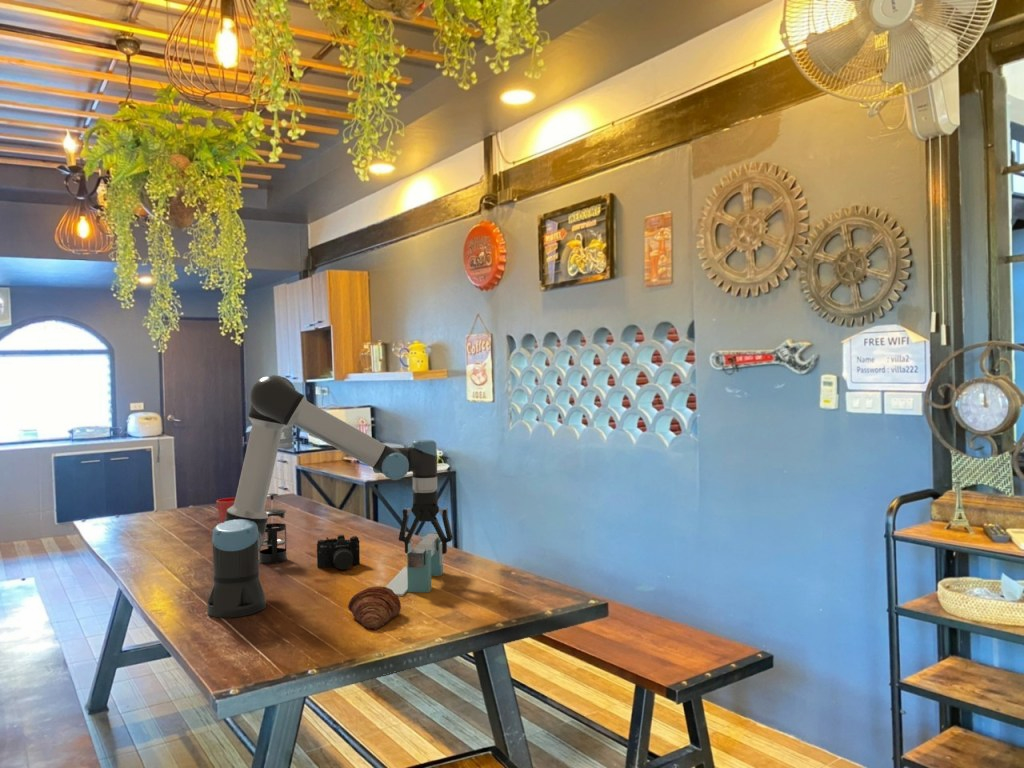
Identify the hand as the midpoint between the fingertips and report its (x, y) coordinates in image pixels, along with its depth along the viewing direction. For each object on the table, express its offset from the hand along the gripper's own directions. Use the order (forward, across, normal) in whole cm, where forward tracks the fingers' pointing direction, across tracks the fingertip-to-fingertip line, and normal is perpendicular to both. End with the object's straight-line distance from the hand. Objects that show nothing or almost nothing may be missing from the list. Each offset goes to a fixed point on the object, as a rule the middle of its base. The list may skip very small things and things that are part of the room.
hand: (426, 563), depth 230 cm
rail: (-3, 0, 0) cm, 3 cm away
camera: (+6, +33, -15) cm, 36 cm away
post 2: (+5, 0, -9) cm, 11 cm away
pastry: (+6, +6, +33) cm, 34 cm away
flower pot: (+6, +107, -88) cm, 139 cm away
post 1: (+5, 0, +9) cm, 11 cm away
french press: (+6, +59, -23) cm, 64 cm away
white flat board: (+5, +7, 0) cm, 9 cm away
